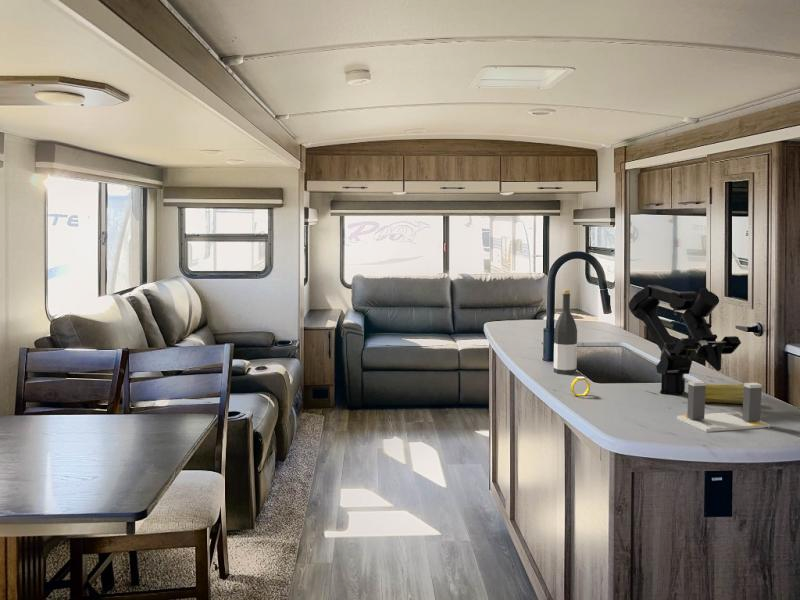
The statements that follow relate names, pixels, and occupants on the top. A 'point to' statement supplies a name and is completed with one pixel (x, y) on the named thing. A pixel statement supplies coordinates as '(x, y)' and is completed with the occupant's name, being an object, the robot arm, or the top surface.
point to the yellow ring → (574, 384)
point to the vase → (724, 393)
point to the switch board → (722, 422)
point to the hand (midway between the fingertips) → (719, 370)
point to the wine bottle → (565, 340)
